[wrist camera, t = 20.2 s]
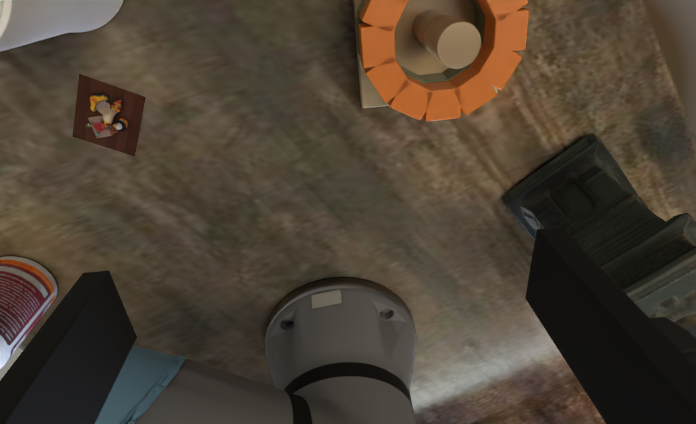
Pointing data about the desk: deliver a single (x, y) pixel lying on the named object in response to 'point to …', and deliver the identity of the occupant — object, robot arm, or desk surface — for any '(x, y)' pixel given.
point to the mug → (51, 19)
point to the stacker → (429, 42)
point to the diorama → (107, 115)
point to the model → (614, 228)
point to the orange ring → (461, 91)
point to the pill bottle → (22, 301)
